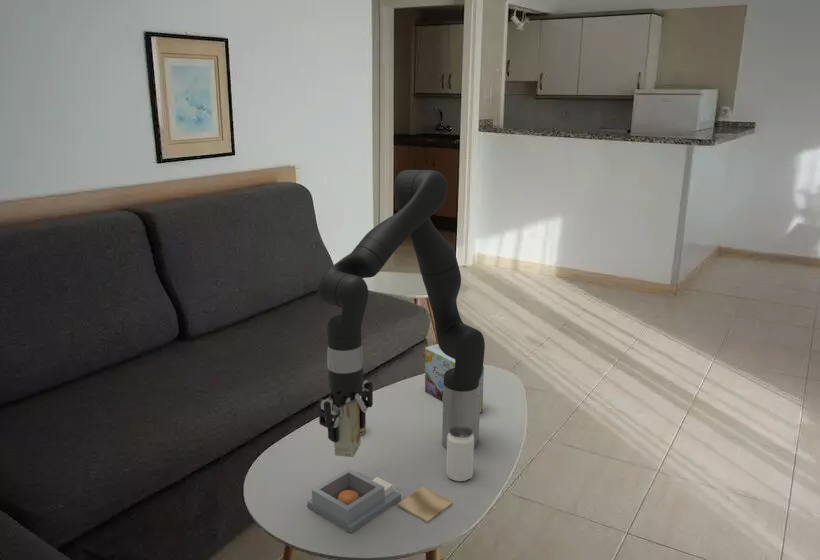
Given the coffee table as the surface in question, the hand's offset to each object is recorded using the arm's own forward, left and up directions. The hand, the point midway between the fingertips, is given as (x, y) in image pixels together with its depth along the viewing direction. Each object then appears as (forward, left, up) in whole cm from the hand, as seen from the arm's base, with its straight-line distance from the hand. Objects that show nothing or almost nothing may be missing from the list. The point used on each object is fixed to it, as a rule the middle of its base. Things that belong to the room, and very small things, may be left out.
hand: (347, 433), depth 145 cm
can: (-27, +11, -19) cm, 35 cm away
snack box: (-57, -14, -19) cm, 62 cm away
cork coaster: (-12, +12, -18) cm, 25 cm away
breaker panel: (-2, 0, -18) cm, 19 cm away
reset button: (0, 0, -18) cm, 18 cm away
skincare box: (0, 0, -4) cm, 4 cm away
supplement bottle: (-25, -23, -19) cm, 39 cm away
